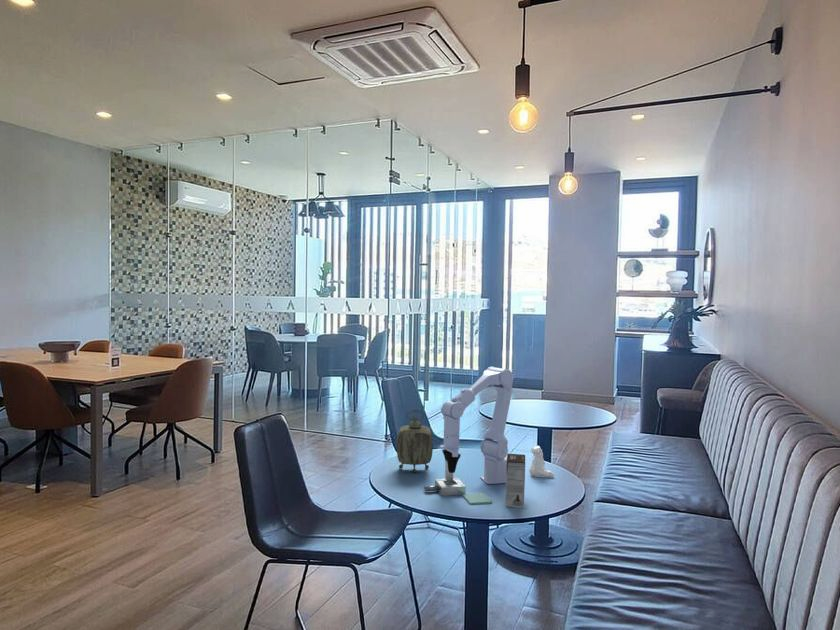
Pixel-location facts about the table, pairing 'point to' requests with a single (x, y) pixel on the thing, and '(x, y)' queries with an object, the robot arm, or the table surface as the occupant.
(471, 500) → the mat
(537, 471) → the white creature statuette
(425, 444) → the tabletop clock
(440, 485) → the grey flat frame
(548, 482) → the table surface
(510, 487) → the coffee box
